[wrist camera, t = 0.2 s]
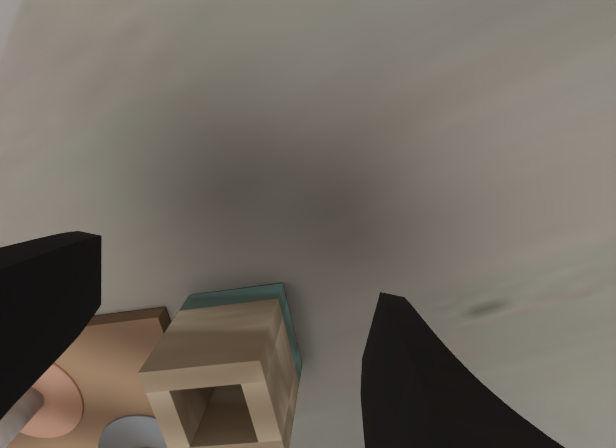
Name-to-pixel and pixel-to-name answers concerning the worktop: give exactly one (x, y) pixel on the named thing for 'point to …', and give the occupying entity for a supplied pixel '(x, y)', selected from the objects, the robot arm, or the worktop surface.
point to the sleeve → (226, 371)
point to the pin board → (93, 390)
